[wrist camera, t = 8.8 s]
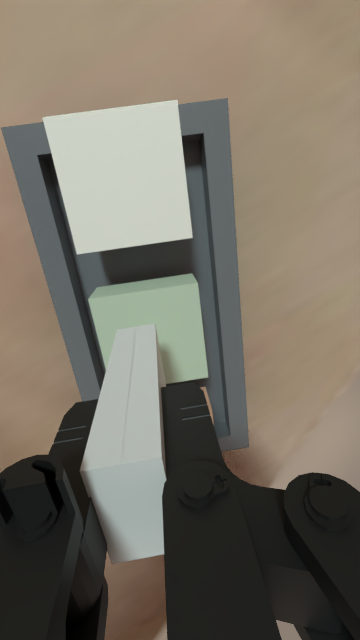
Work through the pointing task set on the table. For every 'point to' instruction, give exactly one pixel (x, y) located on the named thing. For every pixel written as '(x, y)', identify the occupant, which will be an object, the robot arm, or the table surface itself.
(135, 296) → the sage key
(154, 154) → the ivory key
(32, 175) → the grey rectangular tray
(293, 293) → the table surface
